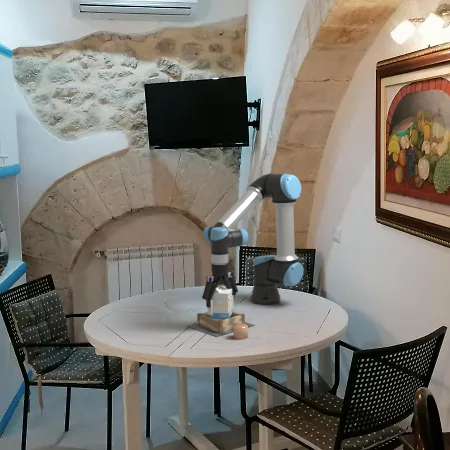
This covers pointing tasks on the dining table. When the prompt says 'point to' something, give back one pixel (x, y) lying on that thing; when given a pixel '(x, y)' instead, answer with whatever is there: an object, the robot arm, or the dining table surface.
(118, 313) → the dining table surface
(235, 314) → the crate
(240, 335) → the brown egg
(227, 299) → the ink box
